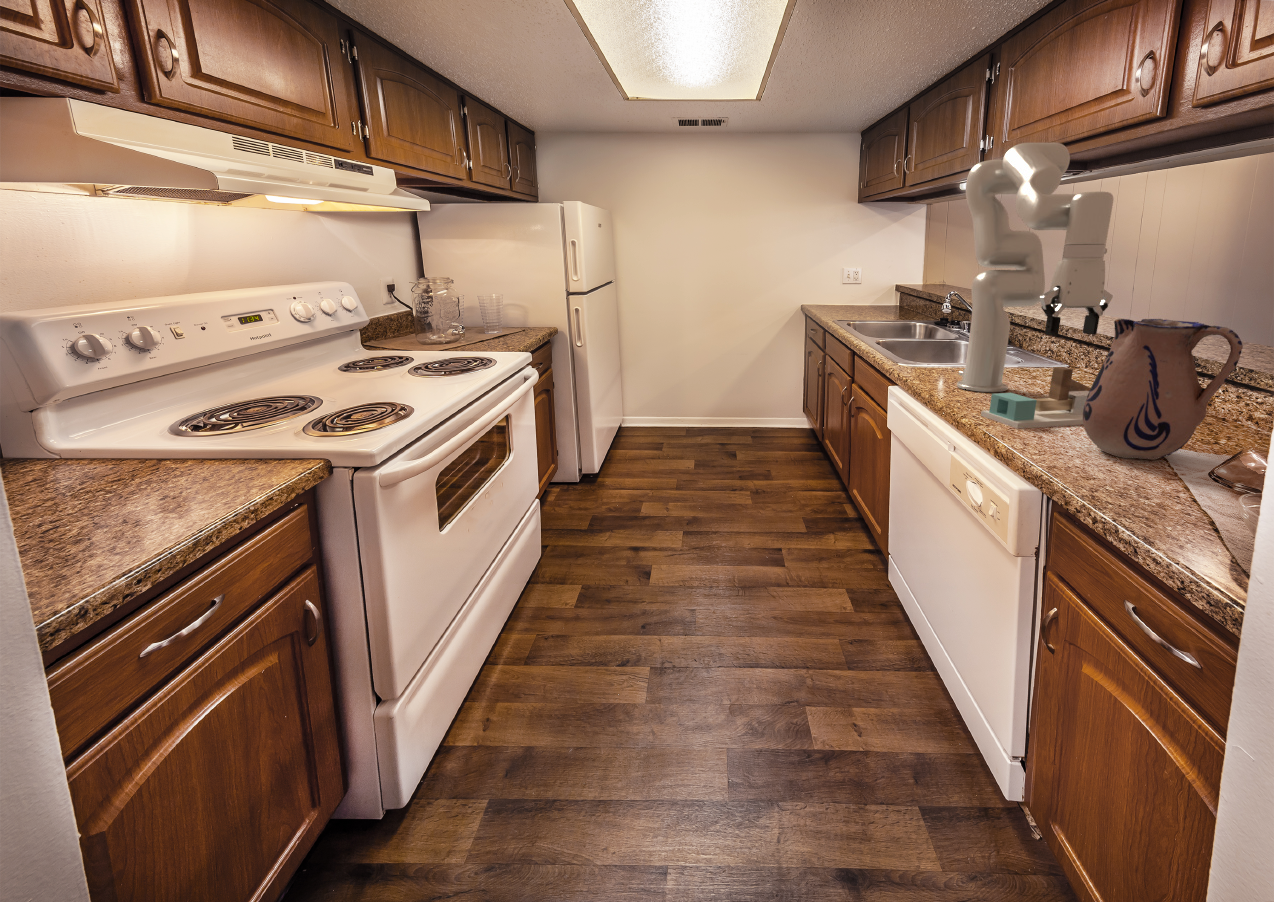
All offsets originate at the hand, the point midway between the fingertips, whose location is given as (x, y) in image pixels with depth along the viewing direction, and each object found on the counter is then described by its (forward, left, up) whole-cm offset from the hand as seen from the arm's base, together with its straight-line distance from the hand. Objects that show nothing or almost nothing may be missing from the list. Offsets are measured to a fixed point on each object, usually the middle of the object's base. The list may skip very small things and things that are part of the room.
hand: (1070, 334), depth 152 cm
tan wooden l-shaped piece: (0, +3, -17) cm, 17 cm away
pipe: (-14, +22, -20) cm, 33 cm away
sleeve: (0, +6, -18) cm, 19 cm away
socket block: (0, -11, -18) cm, 21 cm away
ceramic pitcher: (+28, -5, -19) cm, 34 cm away
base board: (0, -2, -19) cm, 19 cm away
